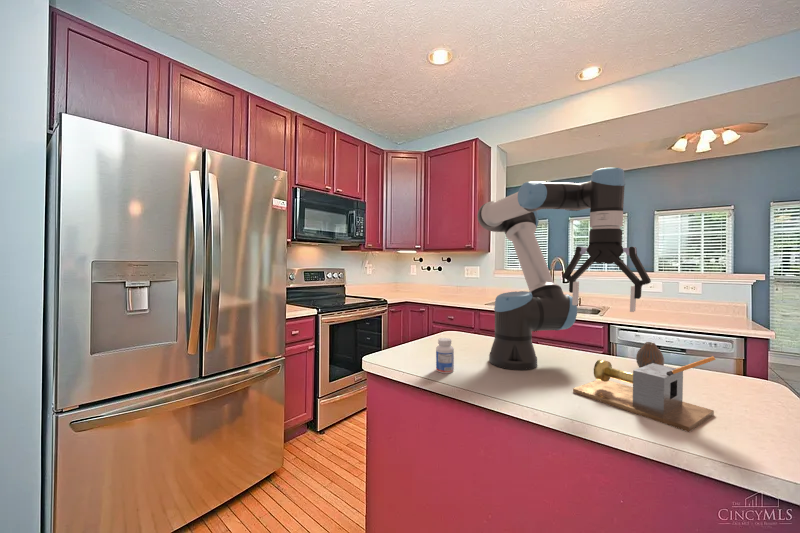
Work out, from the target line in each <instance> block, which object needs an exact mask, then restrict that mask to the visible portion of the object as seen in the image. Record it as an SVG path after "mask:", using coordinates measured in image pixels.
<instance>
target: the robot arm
mask: <svg viewBox="0 0 800 533" xmlns="http://www.w3.org/2000/svg"><path fill="white" fill-rule="evenodd" d="M625 186H626V182H625V171H624V169H623V168H620V167H612V166H611V167H604V168H603V167H602V168H598V169H596V170H594V171H592V173H591V177H590V180H589V181H585V182H579V183H576V182H575V183H574V182H551V181H547V182H546V181H539V180H535V181H525V182H523V183H522V184H521V186H520V187H519V188H518V191H517V192H514V193H511V194H510V195H507V196H505V197H503V198H501V199H499V200H491V201H488V202H485V203H484V204H483V205H481V206H480V207H479V209H478V211H477V215H476V217H477V221H478V224H479V225H480V226H481V227H482V228H483V229H485V230H487V231H489V232H493V233H495V232H496V233H499V232H500V233H504V234H505V237H506V238H507V240H508V241H510V242H512V244H513V245H512V246H513V247H514V250H515V254H516V256H517V260H518V262H519V264H520V267H521V271H522V273H523V276H524V279H525V281H526V282H525V283H526V284H527V287H528V290H529V291H525V290H523V291H522V290H521V291H508V292H503V293H500V294H498V295H497V296H496V297H495V302H494V308H493V310H494V340H493V343H492V345H491V348H490V351H489V354H488V356H489V357H488V362H489V363H490V364H492V365H493V366H495V367H498V368H502V369H506V370H516V371H519V370H520V371H524V370H525V371H527V370H532V369H535V368H537V367H538V357H537V355H536V351H535V347H534V344H533V341H532V340H533V338H532V336H533V332H534V331H535V332H536V331H537V332H538V331H555V332H556V331H560V330H561V331H562V330H567V329H570V328H571V327H573V326H574V324H575V322H576V320H577V315H578V305H579V295H580V294H579V293H580V292H579V290H580V288H579V287H580V281H577V280H578V278H580V276H582V275H583V274H584V273H585V272H586V271H587V270H588V269H589V268H590V267H591V266H592V265H593V264H594V263H596V264H609V265H610V264H615V265H616V266H617V267H618V268H619V270H621V271H622V273H624V275H625V276H626V277H627V279H629V280H630V281H631V283H633V284H632V285H631V286H630V298H629V299H630V300H629V312H630V313H634V312H636V307H637V304H636V303H637V300H640V299H641V297H642V287H643V286H644V285H648V284H651V283H652V280H651V278H650V277H649V274H648V273H647V271H646V268H645V267H644V265H643V264H642V262H641V260H640V258H639V256H638V251H637V247H636V246H630V247H623V243H622V242H623V229H622V228H621V227H623V226H624V225H623V224H624V205H625V203H624V201H625ZM587 209H590V210H589V227H590V228H591V229H590V230H589V231H588V232H589V235H588V246H587V247H584V246H576V247H575V251H574V255H573V256H572V258H571V261H570V262H569V264H568V265H567V267H566V269H565V271H564V273H563V274H562V276H561V277H562V279H564V280H567V281H568V282H569V284H568V291H569V293H571V294H572V296H571V295H570V294H566V293H564V291H563V290H562V287H561V286H560V285H559V284H557V283H555V281H554V279H553V277H552V275H551V272H550V269H549V267H548V265H547V261H546V260H545V257H544V254H543V252H542V249H541V246H540V245H539V242H538V240H537V239H538V238H537V237H536V234H535V233H536V231H537V229H538V226H539V219H538V218H539V213H538V211H540V210H565V211H568V212H580V211H582V210H587ZM586 252H587V254H588V256H589V257H588V258H587V259H586V260H585V262H584V263H583V264H581V266H580V267H579V268H578V269H577V270H576V271H574V270H575V268H576V267H577V265H578V263H579V262H580V259H581V258H582V256H583V255H585V254H586ZM623 253H625V254H626V255H627V257H628V256H629V258H630V260H631V262H632V264H633V266H634V267H635V269H636V271H637V274H638V275H639V277H640V278H639V277H637V275H636V274H635V273H634V272H633V271H632V270H631V269H630V267H628V265H627V264H626V263H625V262H624V260H622V258H621V256H622V255H623ZM573 272H574V273H573ZM640 279H641V280H640Z"/></svg>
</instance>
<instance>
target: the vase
mask: <svg viewBox="0 0 800 533" xmlns="http://www.w3.org/2000/svg"><path fill="white" fill-rule="evenodd" d="M635 358H636V363H637V366H638V368H641V367H644V366H646V365H649V364H652V363H654V364H659V365H663V366H665V357H664V354H663V352H662V351H661V350H660V349H659V347H658V346H657V344H656V343H655V342H653V341H652V342H651V341H646V342H644V344H643V346H641V347H640V348H639V349H638V350H637V353H636V357H635Z"/></svg>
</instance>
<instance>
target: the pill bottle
mask: <svg viewBox="0 0 800 533" xmlns="http://www.w3.org/2000/svg"><path fill="white" fill-rule="evenodd" d="M437 343H438V345H437V346H436V348H435V361H436V362H435V368H436V372H438V373H441V374H451V373H453V372H454V370H455V369H454V368H455V365H454V364H455V356H454V355H455V353H454V352H455V351H454V349H455V348H454V346H452V338H449V337H440V338H438V339H437Z"/></svg>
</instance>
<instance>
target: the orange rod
mask: <svg viewBox="0 0 800 533" xmlns="http://www.w3.org/2000/svg"><path fill="white" fill-rule="evenodd" d="M716 359H717V358H715V356H714V355H712V356H710V357H706V358H704V359H701V360H697V361H695V362H692V363H689V364H686V365H683V366H680V367H676V368H677V369H675V370H672V372H673V374H675V373H678V372H681V371H683V372H684V371H687V370H690V369H693V368H696V367H699V366H701V365H705V364H707V363H710V362H713V361H716Z"/></svg>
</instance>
